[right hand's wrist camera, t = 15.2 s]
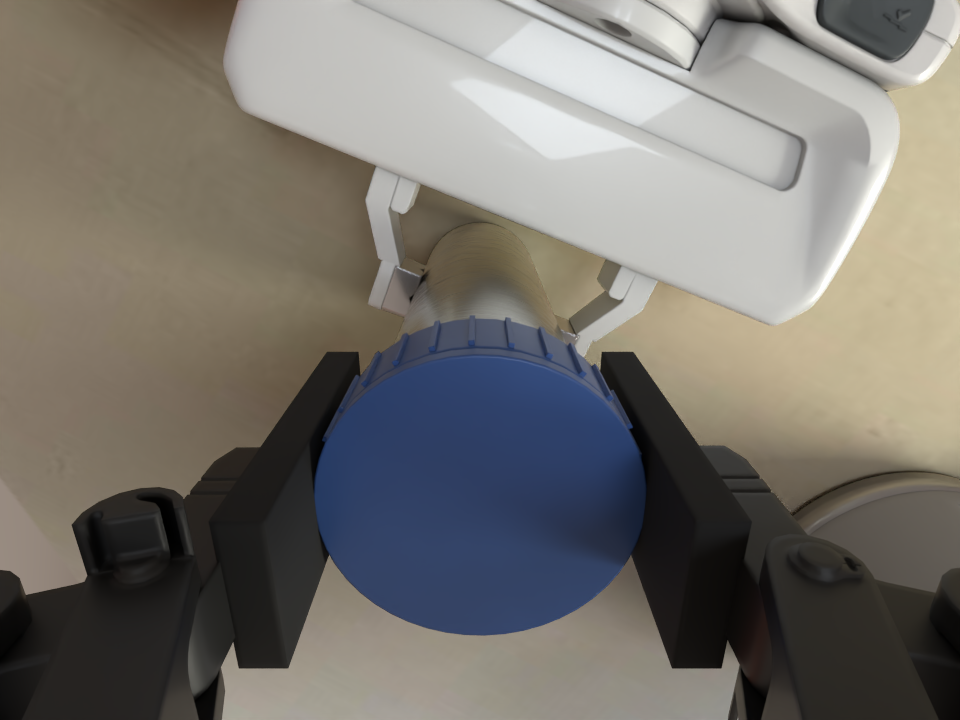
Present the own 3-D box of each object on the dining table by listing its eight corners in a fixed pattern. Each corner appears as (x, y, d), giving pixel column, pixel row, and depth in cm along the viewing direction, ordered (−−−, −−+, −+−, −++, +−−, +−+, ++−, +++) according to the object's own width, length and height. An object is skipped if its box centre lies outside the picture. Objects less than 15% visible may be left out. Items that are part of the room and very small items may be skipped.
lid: (372, 582, 13) (355, 655, 12) (301, 339, 11) (265, 380, 9) (633, 548, 13) (659, 618, 11) (612, 291, 11) (641, 324, 9)
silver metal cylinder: (424, 324, 28) (346, 594, 12) (428, 218, 26) (341, 360, 10) (528, 331, 28) (595, 607, 12) (538, 225, 26) (637, 379, 10)
